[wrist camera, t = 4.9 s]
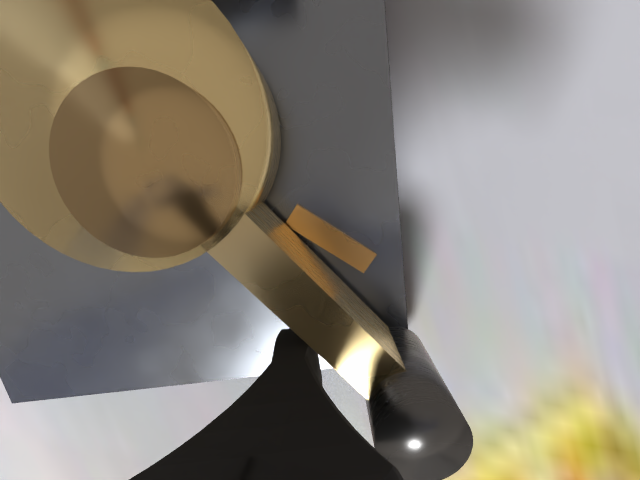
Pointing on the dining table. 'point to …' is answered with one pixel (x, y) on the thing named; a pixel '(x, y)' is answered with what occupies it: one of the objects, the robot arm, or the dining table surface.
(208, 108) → the tan piece
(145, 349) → the stand base
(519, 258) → the dining table surface
